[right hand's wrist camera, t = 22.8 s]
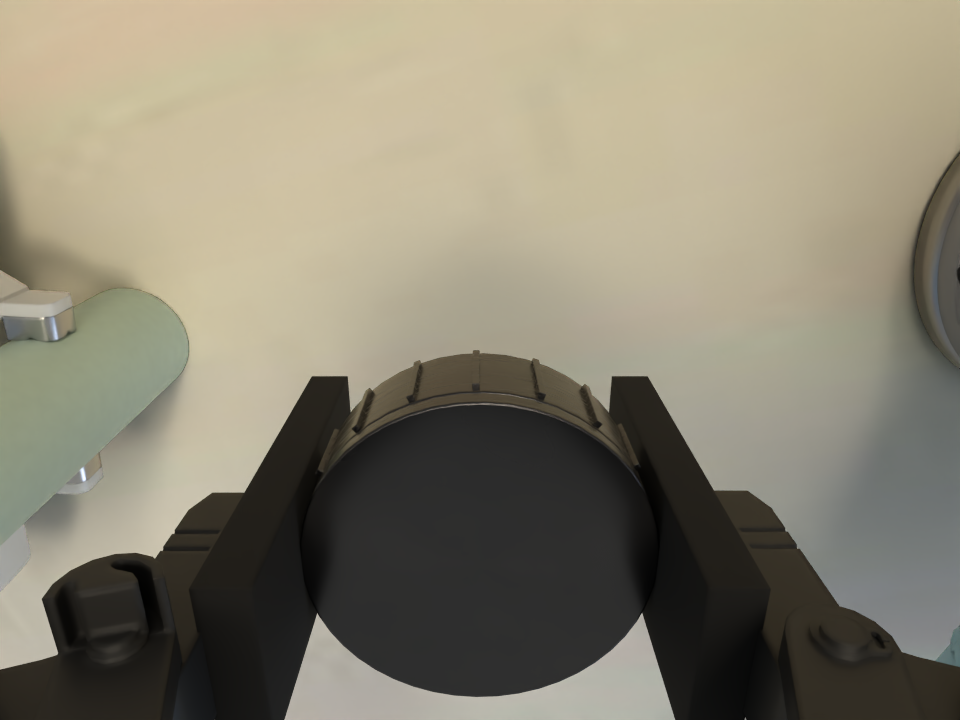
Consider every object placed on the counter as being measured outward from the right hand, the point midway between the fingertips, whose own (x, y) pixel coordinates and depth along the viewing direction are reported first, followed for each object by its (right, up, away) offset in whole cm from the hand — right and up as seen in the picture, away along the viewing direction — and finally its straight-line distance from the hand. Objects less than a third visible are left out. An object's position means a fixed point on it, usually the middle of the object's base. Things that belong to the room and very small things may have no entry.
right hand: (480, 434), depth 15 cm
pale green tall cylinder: (-17, +3, +18) cm, 25 cm away
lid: (0, -1, -4) cm, 4 cm away
